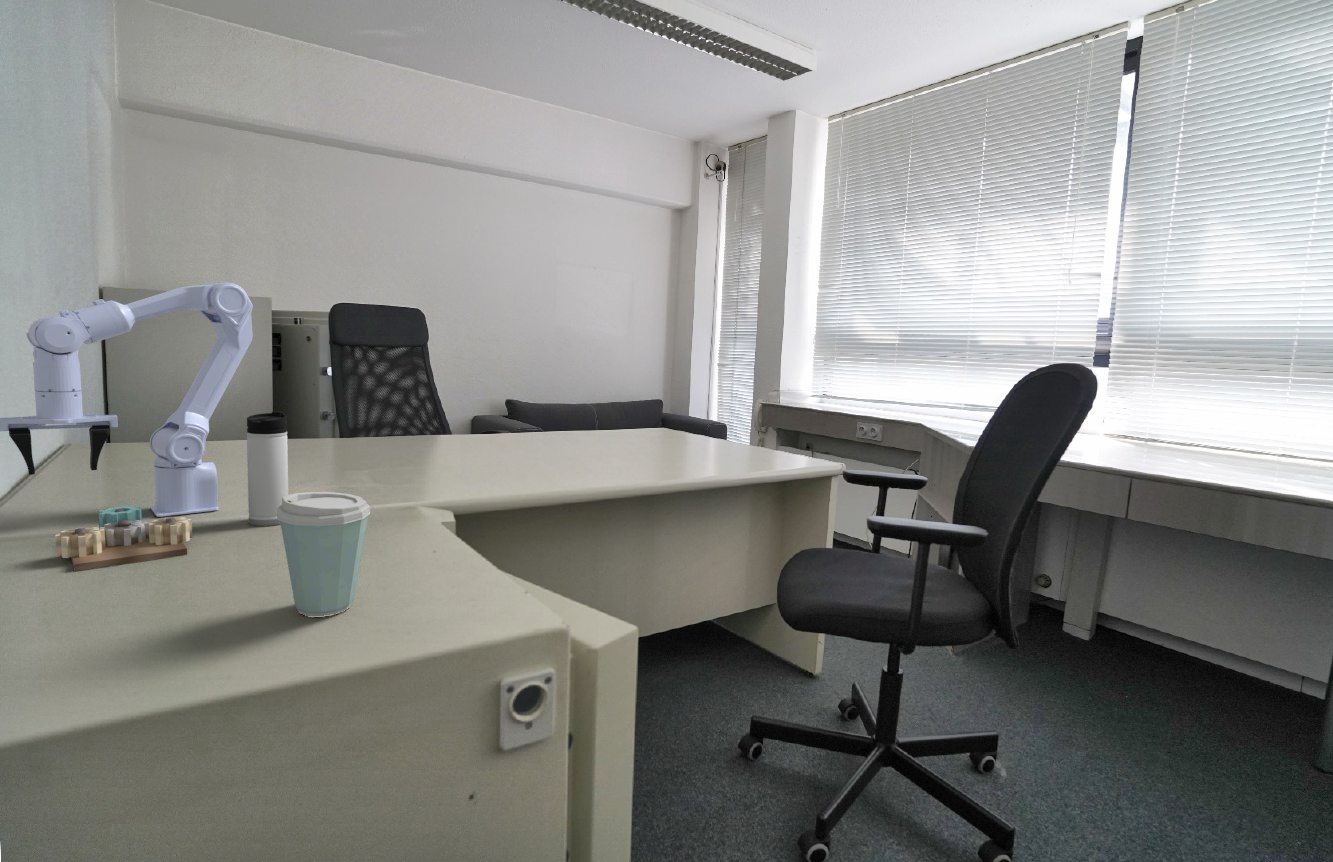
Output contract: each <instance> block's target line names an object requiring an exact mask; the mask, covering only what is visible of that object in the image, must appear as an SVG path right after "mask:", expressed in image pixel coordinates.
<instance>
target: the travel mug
mask: <svg viewBox="0 0 1333 862" xmlns="http://www.w3.org/2000/svg"><path fill="white" fill-rule="evenodd" d="M287 419H288V417H287V415H286V414H285V413H284V411H271V412H266V413H265V412H264V413H258V414H257V413H256V414H253V415H249V416H248V417H246V427H247V428H246V451H247V453H246V454H247V459H246V460H247V493H248V495H247V498H248V503H247V504H248V523H249V524H250V525H252V526H256V527H257V526H258V527H270V526H279V525H281V523H280V520H278V518H277V516H276V514H277V508H278V507H279V506H281V505H282V497H285V496H287V495H289V472H288V471H289V464H288V463H289V462H288V460H289V456H288V453H289V452H288V451H289V449H288V428H287V426H288V420H287Z"/></svg>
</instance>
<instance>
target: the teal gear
mask: <svg viewBox="0 0 1333 862" xmlns="http://www.w3.org/2000/svg"><path fill="white" fill-rule="evenodd" d="M106 508H107V509H100V510H98V527H99V529H100V527H104V525H105V524H108V523H109V524H112V523H117V522H119V521H123V520H131V521H136V520H142V521H143V518H142V508H141V507H140V506H129V505H122V506H117V507H113V506H112V507H106ZM120 509H123V510H124V512H115V510H120Z"/></svg>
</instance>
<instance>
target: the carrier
mask: <svg viewBox="0 0 1333 862" xmlns="http://www.w3.org/2000/svg"><path fill="white" fill-rule="evenodd" d="M115 512H124V510H123V509H120V510H115ZM192 521H193V520H192V519H191V518H186V516H185V517H183V516H180V517H171V516H169V517H164V518H163V519H155V520H152V521H151V523H149V522H148V521H145V522H143V519H142V520H136V521H131V520H123V521H119V522H117V523H112V524H109V523H108V524H105V525H104V527H100V529H99V526H97V527H95V526H93V527H86V528H85V527H76V528H74V529H71V530H69V529H68V530H63V531H59V533H57V534H55V537H54V538H55V550H56V552H55V553H56V557H60V556H61V558H63V559H69V558H70V560H71V563H72V567H73V570H74V572H78V571H79V570H80V571H87V570H92V568H94V569H101V568H105V567H106V568H107V567H113V566H120V564H121V565H126V564H133V563H134V564H135V563H141V562H146V561H152V560H153V561H154V560H159V559H167V558H168V559H169V558H173V557H180V556H188V547H187V546H186V545H185V544H184V543H185V542H186V543H187V542H189V541H190V540H191V539H192V538H193V523H192ZM80 571H79V572H80Z"/></svg>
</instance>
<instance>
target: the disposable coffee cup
mask: <svg viewBox="0 0 1333 862" xmlns="http://www.w3.org/2000/svg"><path fill="white" fill-rule="evenodd" d="M370 514H371V506H370V505H369V504H368V503H367V501H366V500H365V499H363V497H362V496H358V495H355V494H350V493H343V492H333V491H307V492H296V493H290V494H288V495H287V496H285V497H282V505H281V506H279V507H278V508H277V514H276V516H277V518H278V520H280V523H281V524H280V528H281V533H282V539H283V544H284V545H283V546H284V549H285V556H286V561H287V566H288V567H287V569H288V573H289V580H290V584H291V590H292V595H293V601H294V602H293V603H294V605H295V609H296V610H297V611H298V614H299V613H300V614H303V615H306V616H324V615H330V614H336V613H338V612H341V611H344V610H346V609H347V608H349V609H350V608H351V606H352V604H353V602H354V600H355V595H356V588H357V583H358V577H359V573H360V572H359V571H360V566H361V561H362V555H363V549H364V543H365V537H366V532H367V526H368V521H369V515H370ZM350 605H351V606H350ZM300 614H299V615H300ZM303 615H302V616H303ZM306 616H305V617H306Z"/></svg>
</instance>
